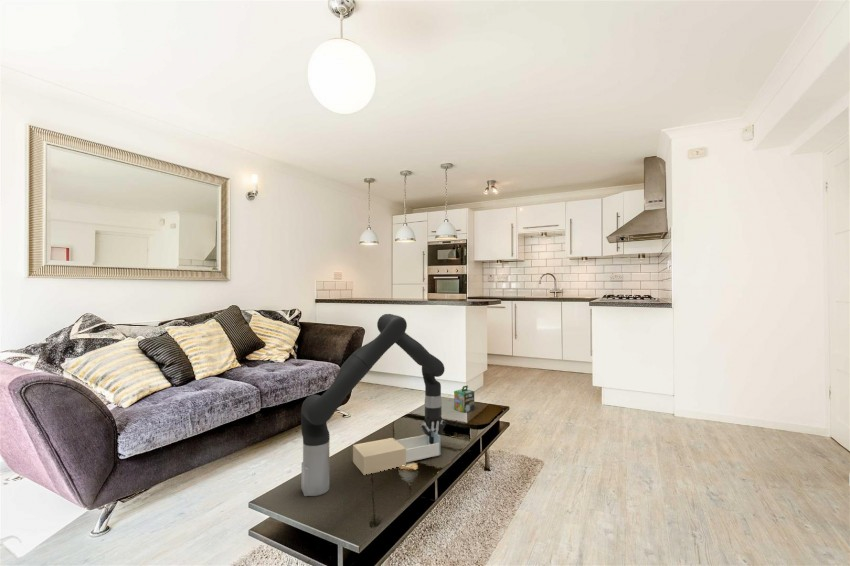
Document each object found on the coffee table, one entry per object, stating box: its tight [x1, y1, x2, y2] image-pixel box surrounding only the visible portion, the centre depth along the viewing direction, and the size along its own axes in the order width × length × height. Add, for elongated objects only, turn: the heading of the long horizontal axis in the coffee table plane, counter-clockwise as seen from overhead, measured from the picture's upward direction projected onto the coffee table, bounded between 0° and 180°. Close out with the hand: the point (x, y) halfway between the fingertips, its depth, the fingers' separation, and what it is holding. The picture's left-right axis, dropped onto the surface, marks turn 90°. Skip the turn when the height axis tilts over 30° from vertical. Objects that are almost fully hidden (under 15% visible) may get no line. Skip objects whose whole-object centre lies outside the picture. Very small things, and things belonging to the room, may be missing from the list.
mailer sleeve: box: [352, 437, 407, 476], centre depth 163 cm, size 18×14×7 cm
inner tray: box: [395, 427, 442, 463], centre depth 169 cm, size 25×12×8 cm, turn 118°
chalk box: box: [453, 384, 475, 413], centre depth 240 cm, size 9×9×15 cm
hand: (433, 444), depth 175 cm, fingers closed
